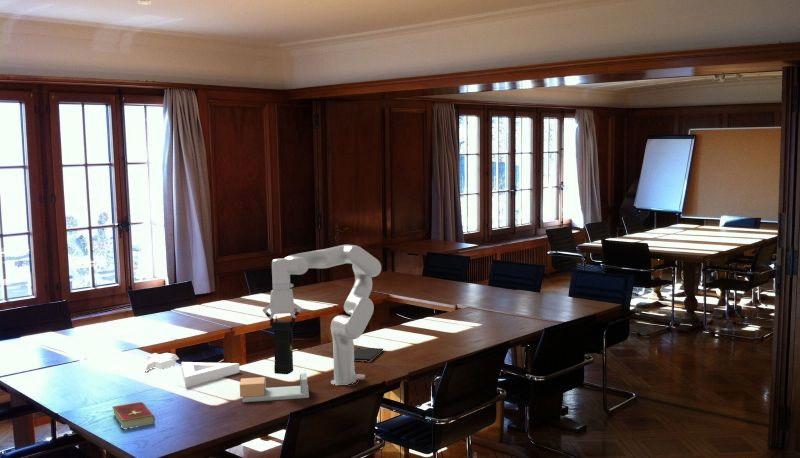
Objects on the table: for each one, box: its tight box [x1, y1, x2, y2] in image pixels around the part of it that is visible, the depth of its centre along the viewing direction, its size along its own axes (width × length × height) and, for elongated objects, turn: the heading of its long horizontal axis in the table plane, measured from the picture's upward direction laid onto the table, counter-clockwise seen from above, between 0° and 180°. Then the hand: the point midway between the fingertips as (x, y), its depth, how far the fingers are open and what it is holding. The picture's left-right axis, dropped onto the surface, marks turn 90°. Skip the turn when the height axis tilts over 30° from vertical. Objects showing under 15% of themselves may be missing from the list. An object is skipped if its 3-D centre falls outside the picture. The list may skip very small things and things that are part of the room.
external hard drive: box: [354, 347, 384, 361], centre depth 382 cm, size 14×23×3 cm, turn 164°
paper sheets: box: [142, 352, 180, 370], centre depth 373 cm, size 35×20×6 cm, turn 10°
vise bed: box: [241, 372, 310, 403], centre depth 319 cm, size 28×14×8 cm, turn 99°
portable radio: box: [273, 315, 294, 375], centre depth 318 cm, size 8×6×25 cm
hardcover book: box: [112, 401, 156, 429], centre depth 292 cm, size 12×21×4 cm, turn 31°
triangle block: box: [181, 361, 240, 388], centre depth 350 cm, size 30×26×6 cm
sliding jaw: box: [239, 376, 267, 398], centre depth 318 cm, size 11×10×5 cm
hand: (282, 327), depth 318 cm, fingers closed on portable radio, 8 cm apart
